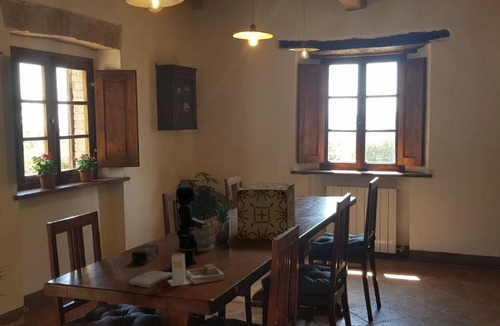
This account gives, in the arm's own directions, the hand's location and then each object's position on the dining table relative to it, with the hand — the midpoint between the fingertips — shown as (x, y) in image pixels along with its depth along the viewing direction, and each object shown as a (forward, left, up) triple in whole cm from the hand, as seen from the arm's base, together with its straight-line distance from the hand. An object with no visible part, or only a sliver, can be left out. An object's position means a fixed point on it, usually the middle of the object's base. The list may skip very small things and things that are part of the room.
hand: (186, 246), depth 239 cm
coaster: (+12, -7, -13) cm, 19 cm away
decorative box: (-58, +67, -13) cm, 90 cm away
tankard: (-46, +19, -13) cm, 52 cm away
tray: (+11, +5, -13) cm, 18 cm away
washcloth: (+3, -17, -14) cm, 22 cm away
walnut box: (+9, +8, -12) cm, 17 cm away
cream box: (+12, -7, -12) cm, 19 cm away
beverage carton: (-35, -13, -14) cm, 40 cm away
